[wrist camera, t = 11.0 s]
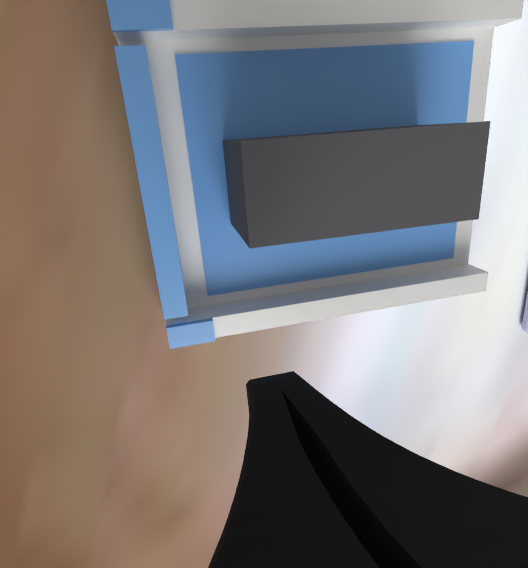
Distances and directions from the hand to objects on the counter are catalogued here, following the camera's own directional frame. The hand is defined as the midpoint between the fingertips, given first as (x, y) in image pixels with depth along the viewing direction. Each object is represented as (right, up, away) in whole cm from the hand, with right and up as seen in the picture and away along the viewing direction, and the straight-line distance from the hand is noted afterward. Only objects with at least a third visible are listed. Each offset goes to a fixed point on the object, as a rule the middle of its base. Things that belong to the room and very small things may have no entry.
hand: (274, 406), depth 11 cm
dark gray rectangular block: (+2, +8, +7) cm, 11 cm away
